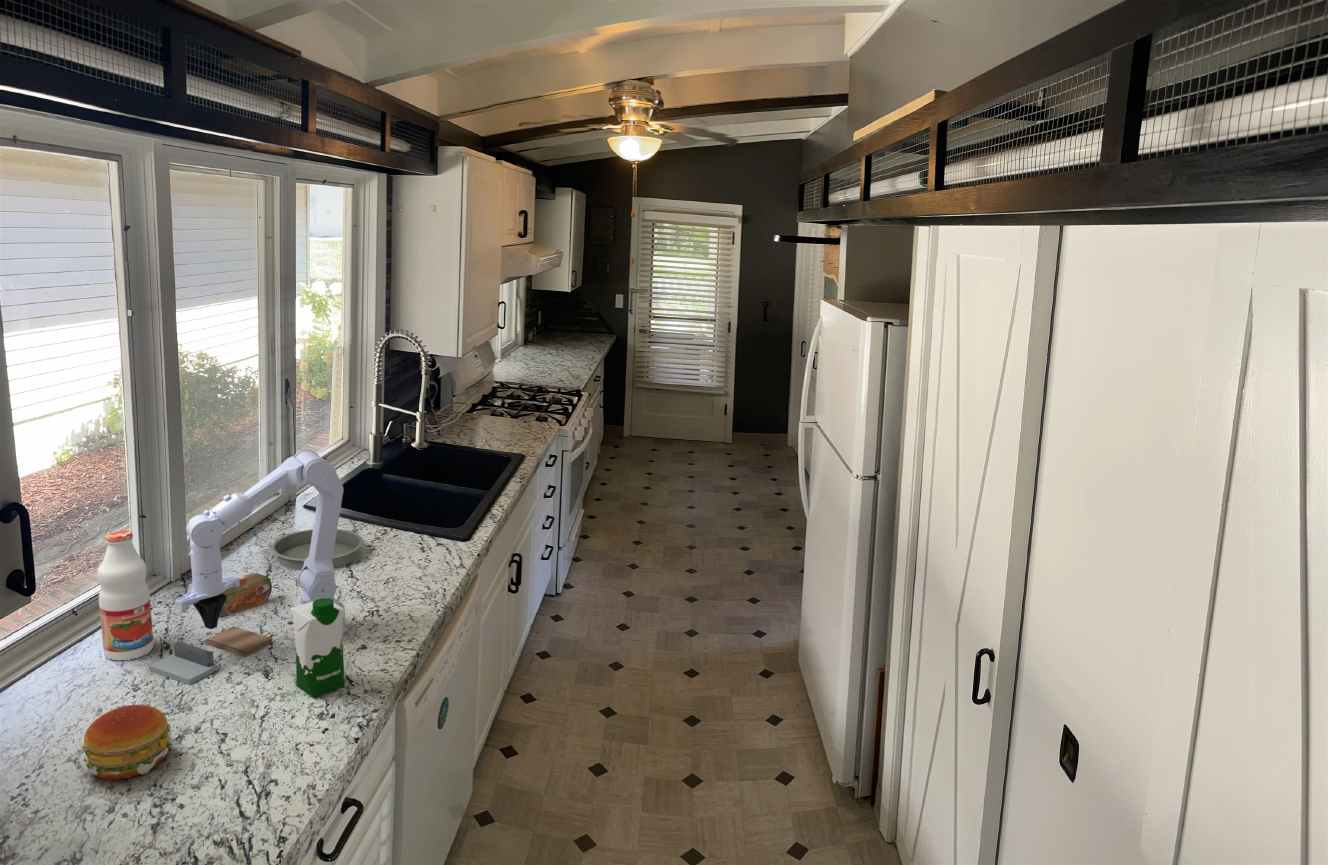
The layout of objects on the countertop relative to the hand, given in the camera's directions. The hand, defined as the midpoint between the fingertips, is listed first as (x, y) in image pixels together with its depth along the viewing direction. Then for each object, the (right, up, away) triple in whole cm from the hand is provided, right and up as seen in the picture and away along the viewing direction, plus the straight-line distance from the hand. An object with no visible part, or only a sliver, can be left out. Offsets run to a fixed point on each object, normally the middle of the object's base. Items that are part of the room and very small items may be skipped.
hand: (211, 627), depth 187 cm
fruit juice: (-19, -6, +2) cm, 20 cm away
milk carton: (+27, -11, -7) cm, 30 cm away
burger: (+4, -16, -35) cm, 39 cm away
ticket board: (+2, -6, +8) cm, 10 cm away
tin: (-6, -1, +25) cm, 26 cm away
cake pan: (-1, +6, +60) cm, 60 cm away
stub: (-3, -8, -5) cm, 10 cm away
